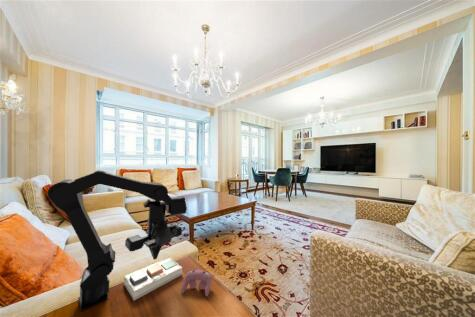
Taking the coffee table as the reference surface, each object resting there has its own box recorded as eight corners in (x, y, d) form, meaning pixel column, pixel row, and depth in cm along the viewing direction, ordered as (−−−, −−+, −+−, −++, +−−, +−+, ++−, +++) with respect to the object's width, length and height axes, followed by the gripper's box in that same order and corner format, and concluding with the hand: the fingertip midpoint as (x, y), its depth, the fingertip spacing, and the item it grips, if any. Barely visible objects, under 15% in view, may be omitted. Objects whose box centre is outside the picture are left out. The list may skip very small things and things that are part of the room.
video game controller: (210, 294, 61) (213, 270, 64) (208, 297, 56) (211, 272, 60) (183, 290, 61) (187, 267, 65) (179, 294, 57) (183, 269, 60)
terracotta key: (151, 279, 61) (151, 273, 61) (146, 273, 64) (146, 268, 64) (162, 273, 64) (162, 268, 64) (157, 268, 67) (157, 263, 67)
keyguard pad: (133, 300, 54) (134, 290, 54) (123, 284, 61) (124, 275, 61) (181, 274, 67) (182, 266, 67) (169, 263, 74) (169, 256, 74)
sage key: (165, 274, 65) (166, 269, 65) (160, 269, 68) (161, 264, 68) (176, 269, 69) (176, 264, 69) (170, 264, 71) (171, 259, 71)
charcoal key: (134, 287, 57) (134, 281, 57) (129, 281, 60) (130, 275, 60) (147, 281, 60) (147, 275, 60) (142, 275, 63) (142, 269, 63)
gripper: (137, 231, 52) (135, 282, 52) (190, 217, 66) (188, 257, 66) (125, 221, 59) (123, 266, 59) (175, 210, 73) (173, 246, 73)
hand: (154, 258), depth 64 cm, fingers closed
